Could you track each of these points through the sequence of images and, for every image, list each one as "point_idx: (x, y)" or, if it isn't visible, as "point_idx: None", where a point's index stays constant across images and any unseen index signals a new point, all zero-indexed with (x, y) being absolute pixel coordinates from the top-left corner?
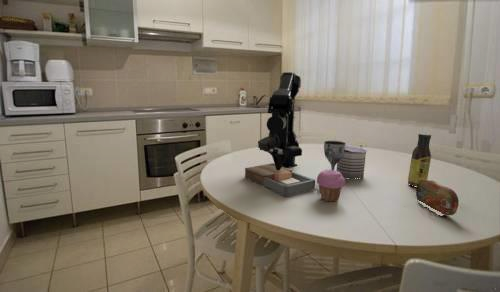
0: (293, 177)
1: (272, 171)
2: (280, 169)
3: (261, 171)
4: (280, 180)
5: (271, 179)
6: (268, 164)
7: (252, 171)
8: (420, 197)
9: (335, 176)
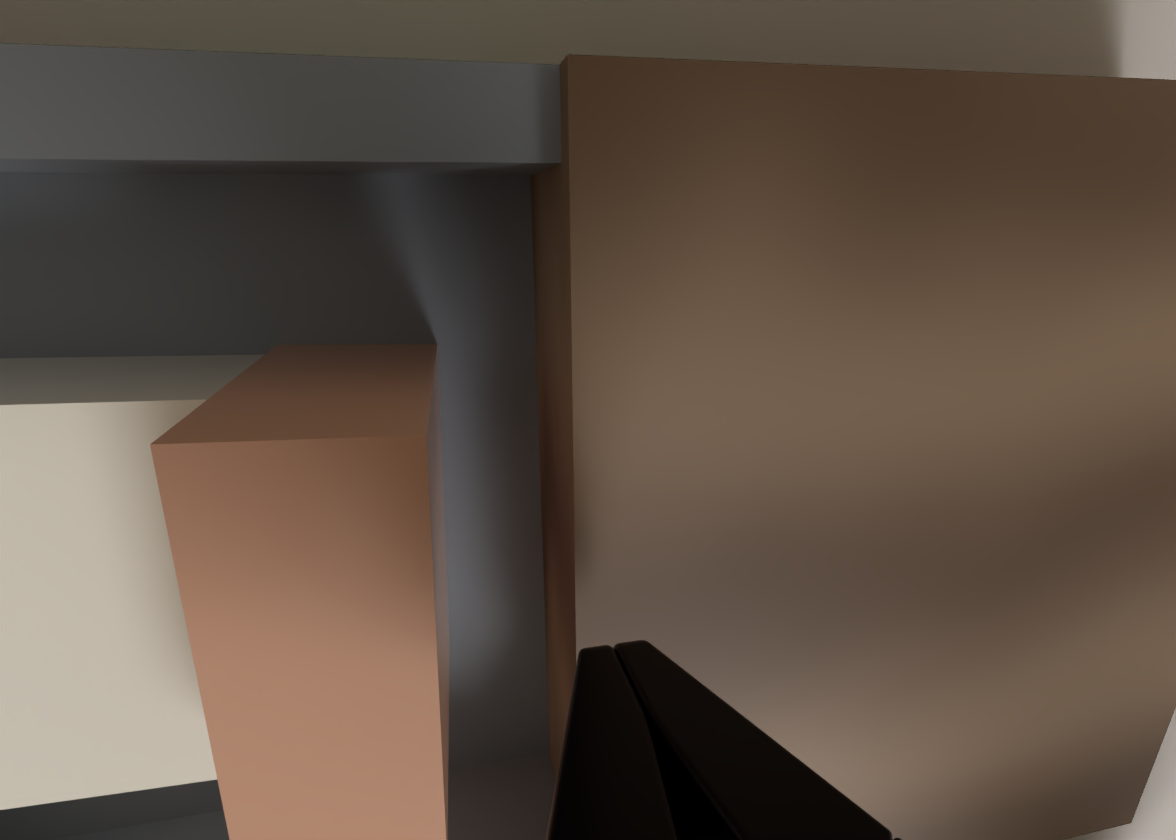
0: (468, 821)
1: (766, 562)
2: None
3: (941, 306)
4: None
5: (252, 157)
6: (1146, 725)
7: (1116, 78)
8: None
9: None
